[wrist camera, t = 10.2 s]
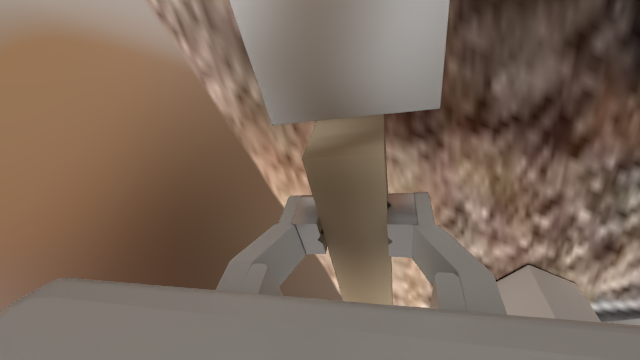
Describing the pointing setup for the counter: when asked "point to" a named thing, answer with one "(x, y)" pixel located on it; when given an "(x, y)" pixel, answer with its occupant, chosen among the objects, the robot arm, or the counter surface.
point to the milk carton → (544, 296)
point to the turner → (347, 108)
